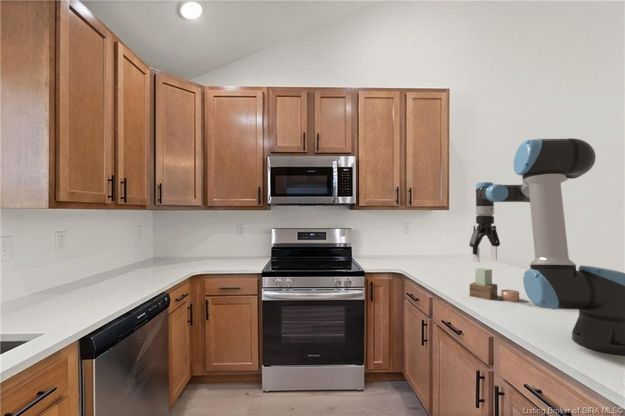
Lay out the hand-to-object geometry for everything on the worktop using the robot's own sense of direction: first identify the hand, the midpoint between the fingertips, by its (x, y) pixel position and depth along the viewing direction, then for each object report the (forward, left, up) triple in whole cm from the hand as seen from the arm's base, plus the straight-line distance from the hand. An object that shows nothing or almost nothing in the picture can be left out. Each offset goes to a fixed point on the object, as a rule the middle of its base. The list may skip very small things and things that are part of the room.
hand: (485, 260), depth 157 cm
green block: (+1, +1, -11) cm, 11 cm away
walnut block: (0, +1, -17) cm, 17 cm away
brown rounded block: (+5, -9, -17) cm, 20 cm away
